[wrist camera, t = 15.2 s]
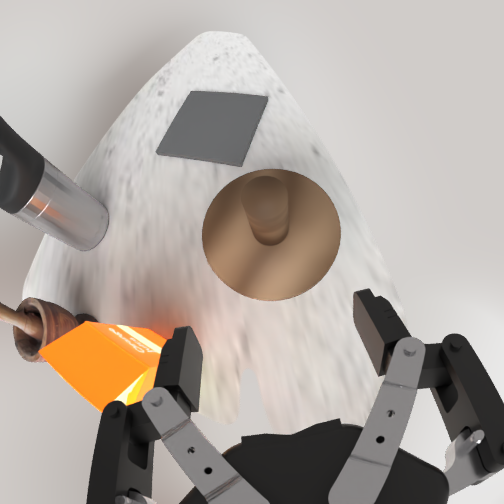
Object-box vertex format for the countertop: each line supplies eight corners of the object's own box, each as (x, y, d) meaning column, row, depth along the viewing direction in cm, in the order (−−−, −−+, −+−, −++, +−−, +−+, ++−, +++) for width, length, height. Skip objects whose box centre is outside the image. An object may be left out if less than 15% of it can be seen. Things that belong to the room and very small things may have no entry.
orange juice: (148, 327, 38) (48, 313, 19) (199, 357, 36) (117, 372, 17) (128, 372, 37) (28, 383, 18) (177, 403, 35) (90, 446, 16)
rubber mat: (157, 154, 47) (155, 151, 46) (192, 94, 51) (191, 91, 50) (241, 166, 44) (240, 163, 43) (268, 100, 47) (267, 96, 46)
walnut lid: (187, 279, 29) (152, 258, 21) (229, 165, 32) (212, 119, 25) (321, 316, 26) (334, 309, 18) (348, 190, 30) (363, 145, 22)
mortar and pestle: (57, 353, 39) (-33, 346, 20) (59, 305, 41) (-29, 282, 22) (104, 365, 37) (4, 368, 18) (106, 311, 40) (7, 288, 21)
